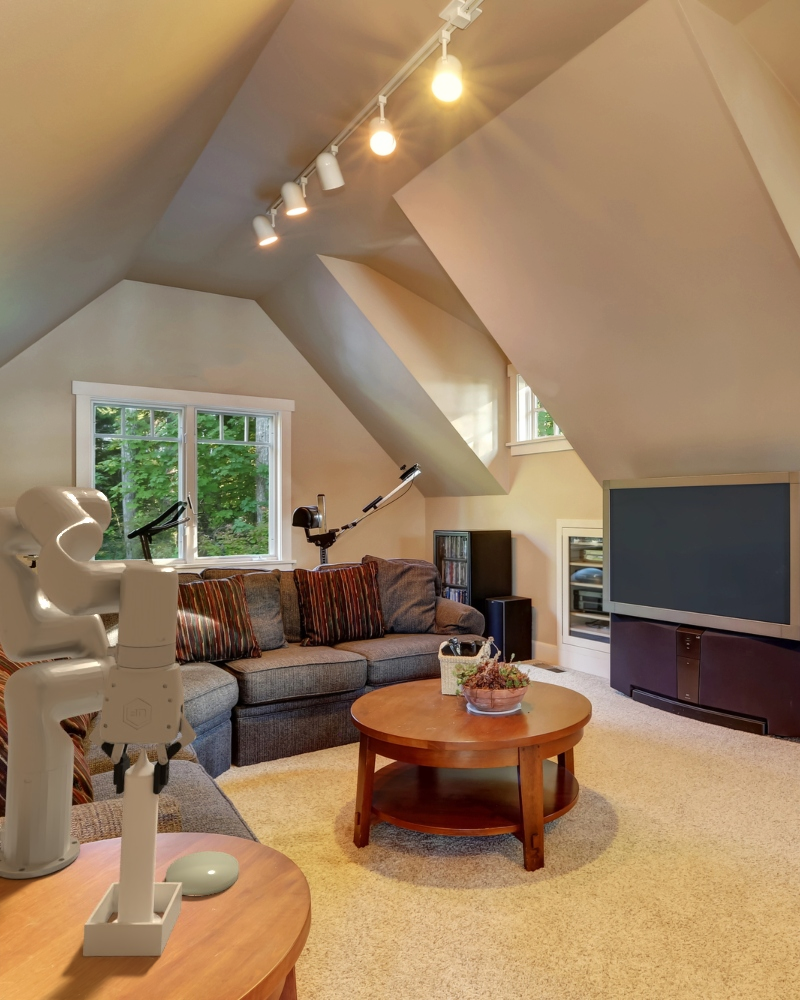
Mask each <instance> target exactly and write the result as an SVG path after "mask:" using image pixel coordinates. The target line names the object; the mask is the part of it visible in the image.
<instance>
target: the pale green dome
mask: <svg viewBox="0 0 800 1000" xmlns="http://www.w3.org/2000/svg"><path fill="white" fill-rule="evenodd" d="M239 875H240V863H239V861H238V859H237V858H236V857H234V856H233V855H232V854H229V853H226V852H222V851H213V850H208V851H205V850H204V851H197V852H194V853H189V854H186V855H184V856H181V857H180V858H177V859H176V860H175V861H173V862H171V864H170V865H169V866H168V868H167V869H166V871H165V882H182V895H183V894H184V895H194V896H195V895H208V896H210V895H209V894H212V895H215V894H214V893H216V894H219V893H221V892H224V891H225V890H227V889H229V888H230V887H231V886H233V885H234V884H235V883H236V882H237V880H238V879H239Z"/></svg>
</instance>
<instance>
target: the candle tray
mask: <svg viewBox="0 0 800 1000" xmlns="http://www.w3.org/2000/svg"><path fill="white" fill-rule="evenodd" d="M182 897H183V896H182V882H166V881H165V882H163V881H162V882H160V881H159V882H157V881H155V885H154V907H153V913H164V914H163V915H162V917H161V922H160V923H112V922H108V921H109V920H110V918H111V916H112V915H113V913H118V900H119V881H116V882H113V881H112V882H111V884H110V886H109V887H108V888H107V890H106V892H105V893H104V894H103V896H102V897H101V899H100V901H99V902H98V904H97V905H96V906H95V908H94V909H93V911H92V912H91V913H90V915H89V917H88V918H87V920H86V922H85V923H84V924H83V950H82V957H156V956H157V957H159V956H160V957H161V956H162V954H163V953H164V949H165V947H166V946H167V943H168V941H169V940H170V939H169V938H170V937H171V934H172V932H173V931H174V927H175V926H176V923H177V922H178V918H179V917H180V914H181V912H182ZM180 911H181V912H180Z"/></svg>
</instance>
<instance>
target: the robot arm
mask: <svg viewBox="0 0 800 1000" xmlns="http://www.w3.org/2000/svg"><path fill="white" fill-rule="evenodd" d="M15 502H16V503H15V506H2V507H1V506H0V646H1V648H2V651H3V653H4V655H5V657H6V658H7V659H8V660H9V661H11V662H14V663H19V664H20V663H33V662H38V663H35V664H30V665H27V666H23V667H22V668H20V669H18V670H16V671H15V672H13V673H12V674H11V675H10V676H9V677H8V678H7V680H6V681H5V685H4V688H3V703H4V709H5V716H6V724H7V772H6V773H7V774H6V790H5V791H6V792H5V793H6V794H5V795H6V797H5V815H4V816H5V817H4V821H3V822H2V823H1V826H0V843H1V844H0V877H1V878H4V879H5V878H6V879H14V880H15V879H16V880H19V879H20V880H23V879H24V880H25V879H33V878H38V877H42V876H46V875H49V874H53V873H54V872H57V871H60V870H61V869H63V868H65V867H67V866H69V865H70V864H72V863H73V862H74V861H75V860H76V859H77V858H78V856H79V855H80V852H81V843H80V842H81V841H79V840H78V838H77V837H75V836H73V835H71V832H72V831H71V829H72V828H71V825H72V810H73V809H72V808H73V806H72V805H73V783H74V763H75V746H74V742H73V740H72V739H73V738H71V736H70V735H69V733H67V731H65V730H64V728H63V727H62V726H61V724H60V723H61V721H64V720H66V719H70V718H74V717H79V716H83V715H87V714H92V713H96V712H101V714H100V721H99V722H98V723H97V724H96V726H95V728H93V730H92V731H91V732H90V734H89V736H88V740H89V741H91V743H93V744H95V745H96V746H97V747H100V748H101V750H102V752H103V753H104V754H105V755H107V757H108V758H109V759H110V762H111V764H113V775H112V776H113V777H112V778H113V780H112V785H114V786H115V794H116V795H121V794H124V774H125V772H126V770H128V769H129V768H130V767H131V758H130V756H129V755H128V750H129V749H128V748H129V745H155V749H156V754H157V760H156V763H155V764H154V765H155V766H154V783H153V793H154V794H159V795H160V793H161V792H162V790H163V789H164V788H165V786H167V785H168V783H169V779H170V761H171V759H172V758H173V757H175V755H176V754H177V753H179V751H181V750H182V749H184V748H185V747H187V746H189V745H190V744H191V743H193V742H194V741H195V740H196V738H197V733H196V732H195V730H194V729H193V727H192V725H191V724H190V723H189V721H188V719H187V718H186V717H185V700H184V699H185V697H184V685H183V677H182V671H181V666H180V663H176V651H177V625H178V622H177V621H178V605H179V604H178V603H179V602H178V601H179V582H180V581H179V573H178V571H177V569H175V568H174V567H172V566H170V565H162V564H154V563H152V562H150V561H148V560H142V559H105V560H102V559H101V560H92V559H93V558H94V557H95V555H96V554H98V552H99V550H100V549H101V547H102V545H103V542H104V541H103V540H104V533H105V532H106V531H107V529H108V527H109V526H110V523H111V521H112V506H111V504H110V501H109V499H108V497H107V496H106V495H105V493H103V492H101V491H100V490H98V489H96V488H92V487H84V486H68V485H67V486H64V485H39V486H35V487H31V488H29V489H27V490H25V491H24V492H23V493H21V495H20V496H19V497H18V498H17V500H16V501H15ZM33 555H35V556H36V555H38V557H37V562H36V563H37V564H36V570H37V573H36V571H34V569H32V568H31V567H30V566H29V565H28V564H26V563H25V562H23V561H21V560H20V559H18V557H17V556H33ZM115 613H116V614H118V625H117V643H116V644H115V645H113V646H111V643H110V640H109V637H108V634H107V631H106V627H105V625H104V622H103V619H102V617H101V615H105V614H115ZM62 658H68V659H62ZM55 659H58V660H55ZM48 660H51V661H48ZM42 661H43V662H42ZM39 662H40V663H39ZM179 734H181V736H180V737H179V738H178V739H177V737H178V735H179ZM173 741H174V742H173ZM172 742H173V743H172Z"/></svg>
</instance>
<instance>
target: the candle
mask: <svg viewBox="0 0 800 1000" xmlns="http://www.w3.org/2000/svg"><path fill="white" fill-rule="evenodd" d="M154 766H155V764H153V763H152V762H150V760H149V759H148V755H147V750H146V747H145V746H142V747H141V749H140V751H139V756H138V759H137V760H136V762H135V763H134V764H133V765H131V766H130V768H129V769H128V770H126V772H125V774H124V791H123V793H122V794H123V798H122V814H121V815H122V819H121V841H120V861H119V863H120V864H119V881H118V882H119V900H118V912H117V918H116V919H115V920H113V921H112V922H111V923H160V922H161V919H162V917H161V916H160V915H159V914H157V913H156V912H153V907H154V885H155V882H156V880H155V879H156V862H157V861H156V859H157V857H156V856H157V842H158V841H157V838H158V836H157V835H158V816H159V815H158V814H159V797H160V796H159V795H160V793H159V794H154V793H153V783H154Z"/></svg>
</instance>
